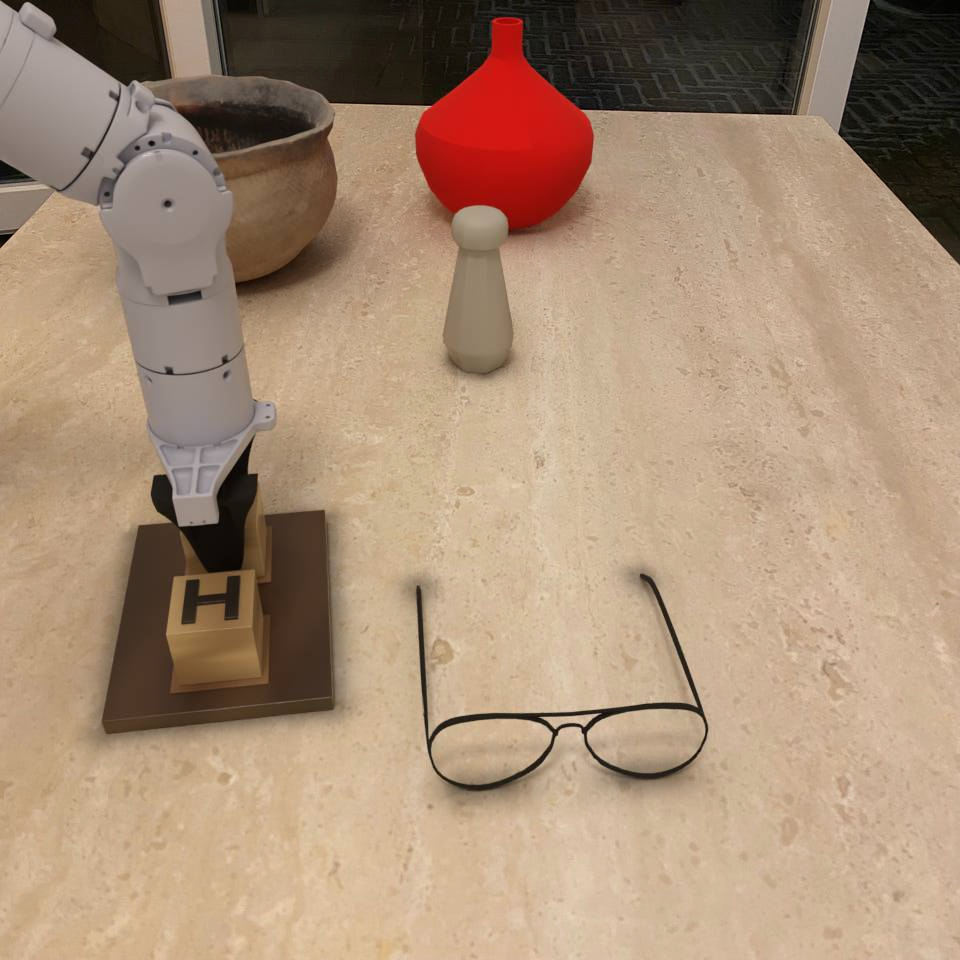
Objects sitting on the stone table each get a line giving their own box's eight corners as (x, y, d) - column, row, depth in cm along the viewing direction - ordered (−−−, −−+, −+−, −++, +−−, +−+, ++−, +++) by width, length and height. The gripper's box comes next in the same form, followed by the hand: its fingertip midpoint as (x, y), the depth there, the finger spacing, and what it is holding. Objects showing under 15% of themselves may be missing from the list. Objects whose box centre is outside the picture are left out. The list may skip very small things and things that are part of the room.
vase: (622, 212, 108) (642, 22, 96) (508, 265, 97) (515, 59, 85) (497, 167, 118) (501, -10, 106) (381, 211, 107) (371, 20, 95)
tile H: (179, 686, 54) (164, 632, 51) (185, 627, 57) (173, 573, 55) (261, 677, 55) (251, 623, 52) (263, 619, 58) (254, 566, 55)
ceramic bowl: (115, 228, 103) (81, 77, 94) (325, 207, 108) (312, 61, 98) (116, 332, 86) (74, 161, 77) (365, 301, 91) (353, 136, 82)
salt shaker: (435, 348, 85) (432, 200, 77) (499, 338, 86) (503, 192, 78) (454, 384, 80) (454, 231, 72) (522, 373, 82) (528, 222, 74)
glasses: (425, 795, 50) (422, 722, 47) (416, 609, 63) (414, 543, 60) (705, 776, 51) (718, 704, 48) (641, 597, 64) (647, 532, 61)
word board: (105, 734, 53) (100, 720, 52) (141, 536, 65) (137, 523, 65) (333, 709, 54) (332, 696, 54) (326, 520, 67) (324, 507, 66)
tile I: (191, 583, 60) (179, 531, 58) (196, 536, 64) (185, 484, 61) (265, 576, 61) (256, 524, 58) (266, 530, 64) (258, 478, 62)
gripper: (262, 418, 48) (292, 617, 56) (268, 280, 59) (292, 463, 67) (110, 429, 47) (163, 630, 55) (145, 287, 58) (185, 472, 67)
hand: (226, 539), depth 61 cm, fingers closed on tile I, 4 cm apart
